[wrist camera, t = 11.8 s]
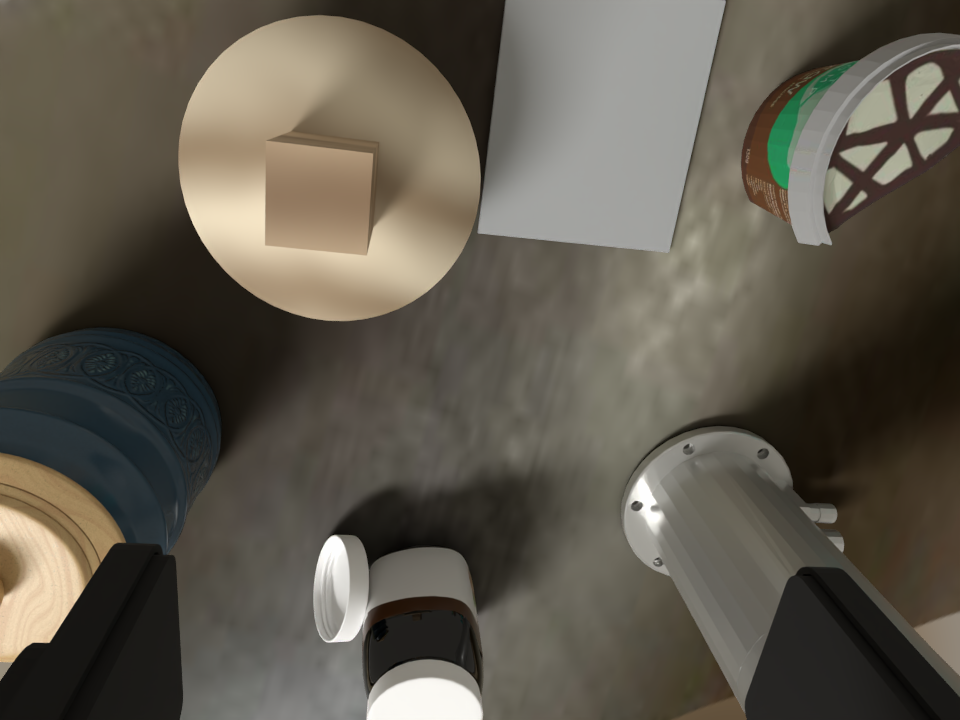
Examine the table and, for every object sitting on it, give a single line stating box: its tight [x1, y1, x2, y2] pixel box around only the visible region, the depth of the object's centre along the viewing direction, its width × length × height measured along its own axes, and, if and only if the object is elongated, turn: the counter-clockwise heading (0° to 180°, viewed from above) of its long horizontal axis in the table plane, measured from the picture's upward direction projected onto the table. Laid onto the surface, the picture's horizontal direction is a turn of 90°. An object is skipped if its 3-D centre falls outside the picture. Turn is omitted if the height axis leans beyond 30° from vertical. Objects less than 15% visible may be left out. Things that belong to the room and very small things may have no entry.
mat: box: [478, 0, 726, 253], centre depth 38 cm, size 12×14×1 cm
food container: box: [741, 33, 960, 246], centre depth 35 cm, size 12×6×10 cm, turn 125°
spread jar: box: [314, 535, 483, 720], centre depth 44 cm, size 12×11×12 cm
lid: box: [178, 15, 481, 321], centre depth 29 cm, size 14×14×7 cm
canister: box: [0, 327, 222, 662], centre depth 34 cm, size 13×13×18 cm
